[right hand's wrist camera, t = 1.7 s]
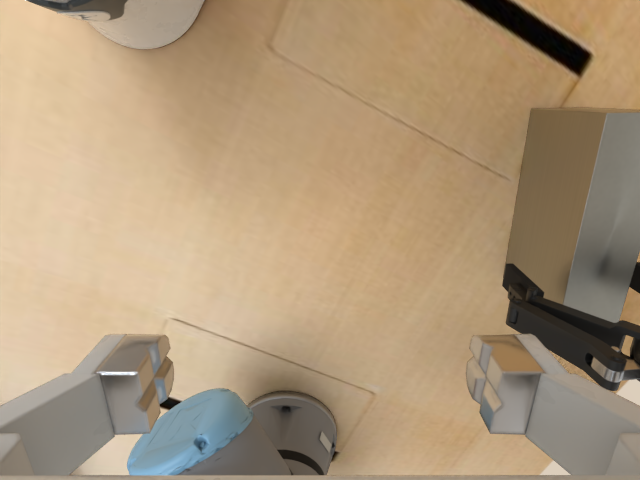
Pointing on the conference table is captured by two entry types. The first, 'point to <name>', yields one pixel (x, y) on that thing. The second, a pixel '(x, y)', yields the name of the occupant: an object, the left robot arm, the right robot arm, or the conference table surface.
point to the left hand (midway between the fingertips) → (569, 273)
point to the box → (579, 207)
